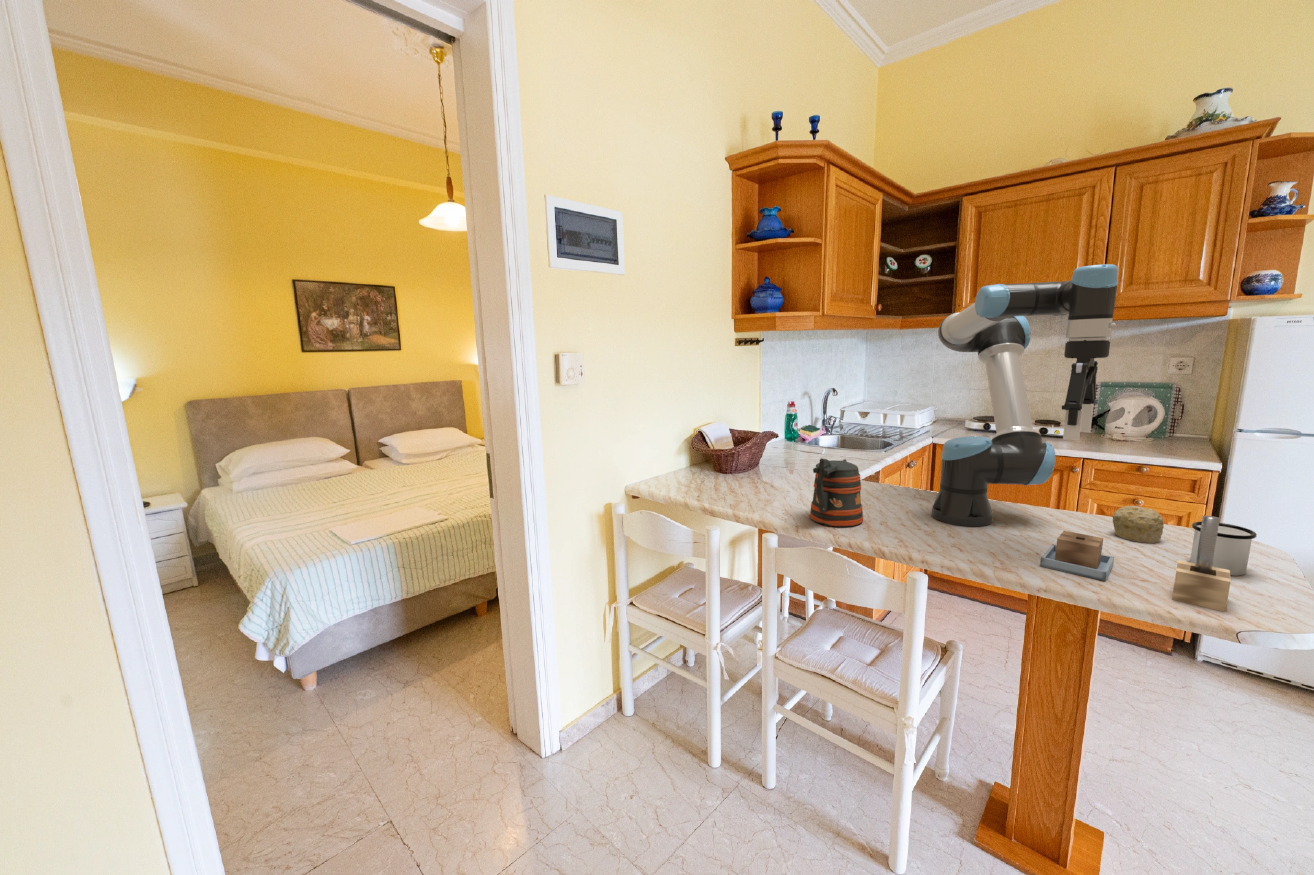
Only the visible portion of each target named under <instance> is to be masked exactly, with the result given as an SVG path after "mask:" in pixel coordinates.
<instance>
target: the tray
mask: <svg viewBox="0 0 1314 875" xmlns="http://www.w3.org/2000/svg"><path fill="white" fill-rule="evenodd" d="M1056 545H1057V544H1054V543H1052V544H1051V545H1050V546H1049V547H1048V549H1047V550H1046V551H1045V552H1044V553H1043V555H1042V556H1041V558H1040V564H1039V566H1040V567H1041V568H1047V569H1051V570H1055V571H1059V572H1064V573H1068V574H1072V575H1076V576H1080V577H1085V578H1089V579H1093V580H1098V581H1102V582H1107V579H1108V577H1109V576H1110V573H1111V571H1112V569H1113V566H1114V563H1115V562H1114V561H1115V556H1112V555H1106V554H1101V562H1100V565H1099V567H1098V569H1093V568H1088V567H1084V566H1079V565H1075V564H1071V563H1066V562H1062V561H1057V560H1055V555H1056Z"/></svg>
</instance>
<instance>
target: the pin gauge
mask: <svg viewBox="0 0 1314 875" xmlns="http://www.w3.org/2000/svg"><path fill="white" fill-rule="evenodd" d="M1220 519H1221V518H1220V517H1217V516H1213V515H1203V516H1202V519H1201V521H1202V525H1201V531H1200V538H1199V544H1198V550H1197V557H1196V563H1195V570H1194V572H1199V573H1204V574H1209V575H1211V571H1212V564H1213V558H1214V552H1215V546H1216V540H1217V533H1218V527H1219V523H1220V521H1221V520H1220Z"/></svg>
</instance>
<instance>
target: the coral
mask: <svg viewBox="0 0 1314 875" xmlns="http://www.w3.org/2000/svg"><path fill="white" fill-rule="evenodd" d="M1112 524H1113V528H1114V532H1115V535H1116V536H1117V537H1120V538H1122V539H1124V540H1129V541H1132V542H1137V543H1145V544H1156V543H1159V542H1160V540H1161V539H1162V535H1163V532H1164V529H1165V528H1164V527H1165V526H1164V525H1165V524H1164V518H1163V516H1162V515H1161V514H1160V513H1159V512H1157V511H1156V510H1155V509H1152V508H1146V507H1141V506H1139V505H1138V506H1137V505H1125V506H1121V507H1119V508H1118V509H1116V510H1115V511H1114V513H1113V514H1112Z"/></svg>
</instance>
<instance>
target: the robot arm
mask: <svg viewBox="0 0 1314 875" xmlns="http://www.w3.org/2000/svg"><path fill="white" fill-rule="evenodd" d="M1118 277H1119V267H1118V266H1117V265H1115V264H1111V263H1110V264H1108V263H1106V264H1104V263H1103V264H1093V265H1085V266H1080V267H1076V268H1075V269H1074V270H1073V273H1072V277H1071V279H1070V280H1066V281H1065V280H1064V281H1046V282H1045V281H1044V282H1029V283H1028V282H1025V283H1003V284H1002V283H995V284H990V285H989V284H988V285H984V286H981V288H979V290H978V292H977V293H976V296H975V302H973V303H972V304H971V305H969V306H968V307H966V308H965V309H963V310H961V311H960V312H954V313H951V314H950V315H948V316H947V317H945V318H944V319H943V320H942V321H941V322H940V324H939V326H938V330H937V336H938V339H939V340H940V342H941V344H942V345H943V346H944V347H946V348H947V349H950V350H952V351H955V352H959V353H977V356H978V360H979V361H980V362H982V363H983V364H985V369H986V375H987V381H988V388H989V393H990V400H991V407H992V411H993V412H992V414H993V420H994V426H995V431H996V434H995V435H994V436H993V437H992V438H990V437H987V436H959V437H955V438H951V439H948V440H947V441H945V442H944V444H943V446H942V453H941V456H940V457H941V458H940V459H941V466H940V479H939V480H940V481H939V482H940V483H939V490H938V494H937V495H936V497H935V500H934V501H933V504H932V506H931V517H932V518H934V519H935V520H937V521H941V522H943V523H946V524H949V525H950V524H951V525H955V526H963V527H984V526H989V525H991V524H992V523H993V517H994V516H993V511H992V510H993V509H992V507H991V503H990V501H989V497H988V487H989V485H1016V486H1017V485H1018V486H1019V485H1023V486H1030V485H1031V486H1034V485H1037V486H1038V485H1042V484H1044V483H1046V482H1047V481H1049V480H1050V478H1051V476H1052V475H1053V472H1054V469H1055V466H1056V458H1057V457H1056V451H1055V447H1054V446H1053V445H1052V444H1051V443H1049V442H1043V439H1042V435H1041V433H1040V432H1038V431H1037V430H1035V429H1034V427H1033V423H1032V417H1031V411H1030V406H1029V400H1028V396H1027V391H1026V390H1027V389H1026V387H1025V381H1024V380H1025V379H1024V375H1023V369H1022V363H1021V359H1020V358H1021V356H1022V355H1023V354H1024V352H1025V350H1026V349H1027V348H1028V346H1029V344H1030V342H1031V336H1030V334H1031V333H1032V332H1031V327H1030V322H1029V320H1028V319H1027V318H1026V317H1029V316H1055V317H1056V316H1067V315H1068V317H1067V322H1066V324H1067V325H1066V333H1065V338H1066V339H1068V341H1066V342H1065V344H1064V354H1063V355H1064V358H1066V359H1076V361H1075V362H1074V363H1073V362H1072V364H1071V370H1070V376H1069V382H1068V386H1067V392H1066V396H1065V401H1064V404H1062V405H1061V410H1062V411H1063V410H1064V411H1065V413H1064V414H1065V415H1064V426H1063V434H1062V435H1063V436H1062V440H1063V441H1064V440H1065V441H1072V442H1073V441H1075V442H1079V441H1080V437H1081V433H1087V434H1088V433H1089V434H1090V433H1091V429H1092V422H1093V421H1092V420H1093V412H1094V405H1098V403H1099V399H1097V396H1096V392H1097V373H1098V364H1099V363H1098V361H1097V360H1095V359H1104V358H1108V357H1109V355H1110V350H1111V349H1110V348H1111V341H1110V340H1109V339H1108V338H1110V337H1111V336H1112V329H1113V328H1116V326H1117V324H1116V322H1113V318H1114V313H1115V308H1116V306H1115V305H1116V300H1117V299H1116V298H1117V292H1118V291H1117V290H1118V285H1119V281H1118V279H1119V278H1118ZM1107 339H1108V340H1107Z"/></svg>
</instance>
